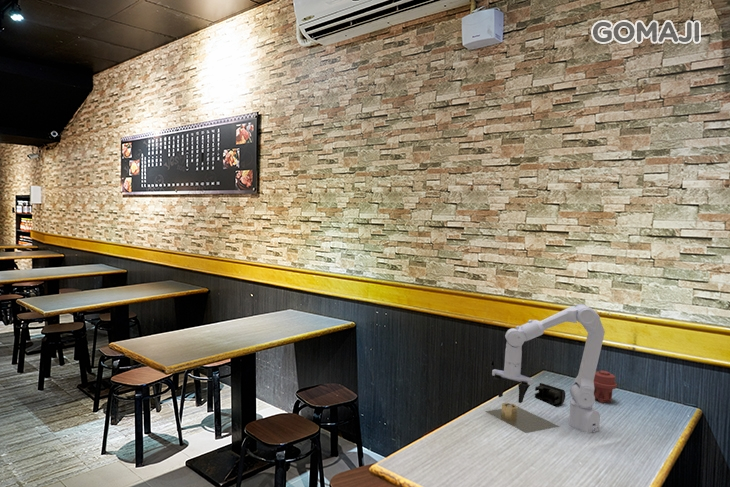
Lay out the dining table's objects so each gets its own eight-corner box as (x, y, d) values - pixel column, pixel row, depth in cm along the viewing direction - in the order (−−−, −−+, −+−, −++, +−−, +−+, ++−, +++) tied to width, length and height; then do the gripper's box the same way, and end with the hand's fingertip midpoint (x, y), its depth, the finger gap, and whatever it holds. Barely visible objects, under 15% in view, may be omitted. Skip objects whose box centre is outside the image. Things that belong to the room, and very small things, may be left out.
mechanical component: (604, 406, 198) (584, 397, 207) (620, 403, 202) (600, 395, 211) (606, 376, 197) (586, 369, 206) (623, 374, 202) (602, 367, 211)
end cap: (565, 405, 196) (566, 388, 196) (556, 408, 192) (557, 391, 192) (542, 397, 204) (543, 381, 204) (533, 400, 199) (534, 384, 199)
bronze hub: (519, 418, 174) (520, 407, 174) (507, 420, 172) (508, 408, 172) (510, 413, 179) (511, 402, 179) (498, 414, 177) (499, 403, 177)
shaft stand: (559, 430, 169) (560, 415, 169) (525, 437, 162) (527, 421, 162) (516, 410, 187) (517, 396, 187) (484, 415, 179) (486, 400, 179)
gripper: (536, 364, 173) (534, 402, 174) (498, 356, 183) (496, 391, 183) (529, 368, 168) (526, 407, 168) (490, 359, 177) (488, 395, 178)
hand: (510, 399), depth 175 cm, fingers open, 7 cm apart
